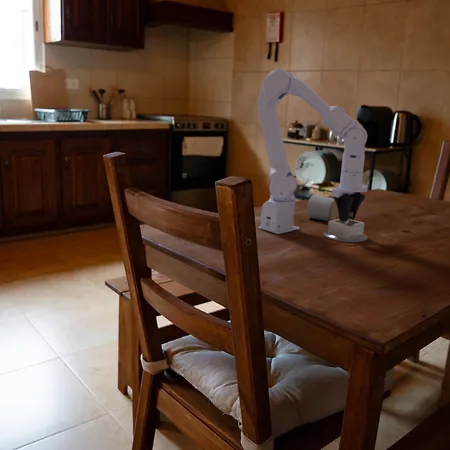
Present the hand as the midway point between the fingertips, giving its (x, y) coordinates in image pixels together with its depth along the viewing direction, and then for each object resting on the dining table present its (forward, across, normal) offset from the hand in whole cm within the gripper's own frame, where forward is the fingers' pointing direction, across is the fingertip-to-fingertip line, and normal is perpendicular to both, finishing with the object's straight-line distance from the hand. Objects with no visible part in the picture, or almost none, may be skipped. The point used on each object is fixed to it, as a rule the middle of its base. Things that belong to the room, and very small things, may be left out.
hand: (346, 219), depth 141 cm
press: (+5, 0, 0) cm, 5 cm away
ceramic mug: (+5, +12, +16) cm, 21 cm away
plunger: (+4, 0, 0) cm, 4 cm away
